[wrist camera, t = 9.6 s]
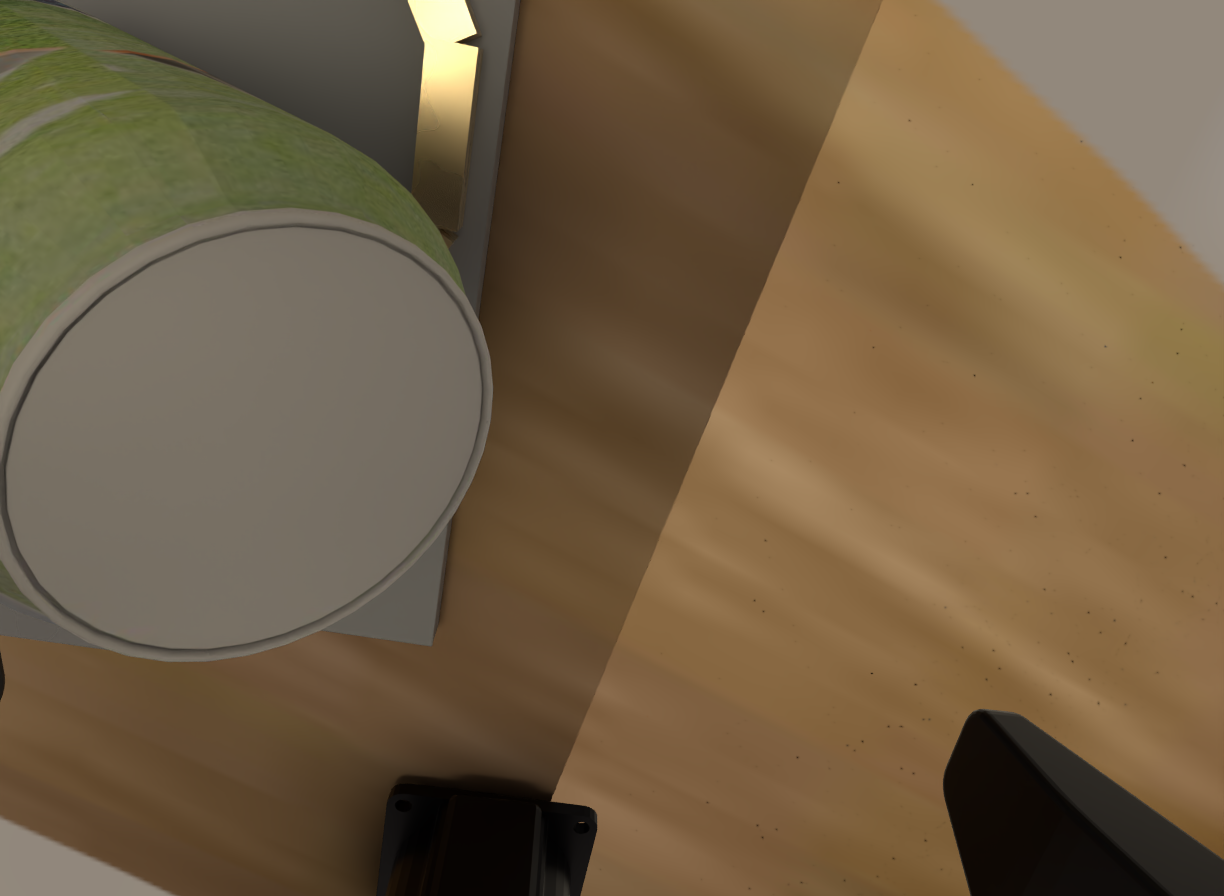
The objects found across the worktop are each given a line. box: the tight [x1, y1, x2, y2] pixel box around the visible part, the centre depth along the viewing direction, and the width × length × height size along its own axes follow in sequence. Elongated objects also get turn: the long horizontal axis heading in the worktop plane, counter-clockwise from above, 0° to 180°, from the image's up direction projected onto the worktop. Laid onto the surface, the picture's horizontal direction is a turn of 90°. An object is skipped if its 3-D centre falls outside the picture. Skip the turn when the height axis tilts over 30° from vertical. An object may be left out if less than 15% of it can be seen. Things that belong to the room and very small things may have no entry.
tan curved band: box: [0, 0, 483, 650], centre depth 15 cm, size 23×14×3 cm, turn 169°
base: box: [57, 0, 520, 646], centre depth 17 cm, size 26×15×1 cm, turn 169°
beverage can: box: [0, 0, 493, 662], centre depth 11 cm, size 6×7×12 cm
